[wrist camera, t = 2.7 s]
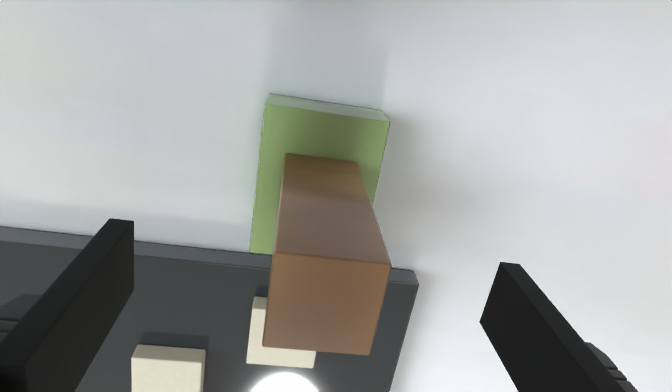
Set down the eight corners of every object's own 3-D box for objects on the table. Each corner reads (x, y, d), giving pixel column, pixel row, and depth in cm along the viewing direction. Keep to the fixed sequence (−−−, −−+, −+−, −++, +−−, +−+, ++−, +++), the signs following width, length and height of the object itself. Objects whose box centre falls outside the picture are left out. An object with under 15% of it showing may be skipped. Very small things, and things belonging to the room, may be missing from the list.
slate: (-16, 386, 30) (-31, 405, 28) (-44, 221, 25) (-64, 234, 24) (375, 411, 33) (379, 429, 32) (414, 270, 28) (419, 284, 27)
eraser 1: (137, 393, 29) (131, 409, 28) (137, 343, 27) (130, 357, 26) (202, 397, 29) (198, 413, 28) (206, 348, 28) (202, 363, 27)
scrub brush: (253, 230, 26) (219, 396, 15) (268, 93, 23) (238, 177, 12) (355, 242, 27) (390, 407, 16) (382, 110, 24) (449, 203, 13)
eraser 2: (248, 349, 28) (245, 363, 27) (254, 295, 26) (252, 308, 25) (312, 354, 28) (313, 369, 27) (322, 302, 27) (323, 315, 26)
